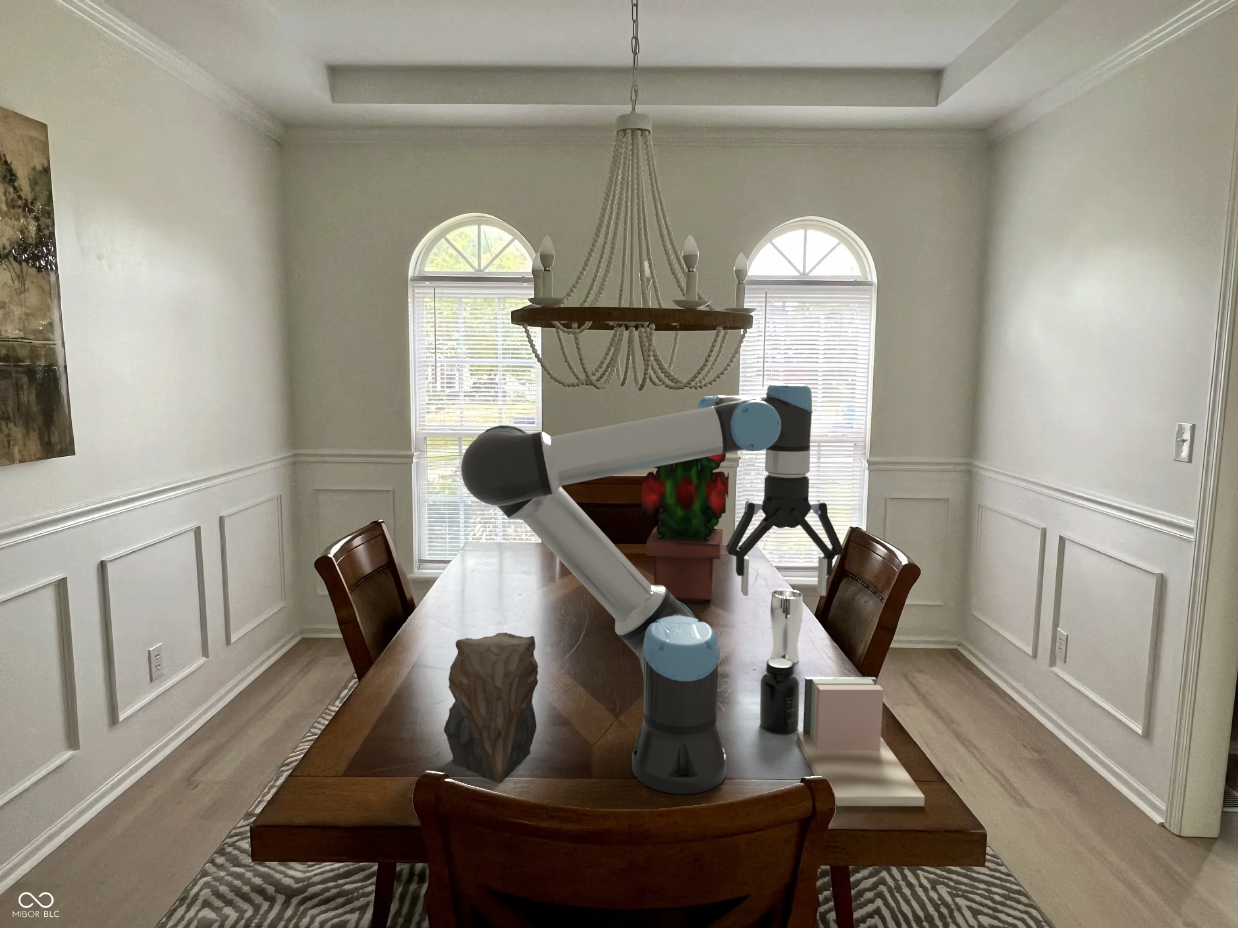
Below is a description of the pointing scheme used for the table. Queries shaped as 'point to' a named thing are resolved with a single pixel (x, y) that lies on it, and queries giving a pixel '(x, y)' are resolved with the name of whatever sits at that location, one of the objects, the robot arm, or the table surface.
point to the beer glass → (786, 623)
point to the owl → (492, 704)
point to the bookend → (809, 694)
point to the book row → (846, 714)
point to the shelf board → (862, 775)
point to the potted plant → (686, 525)
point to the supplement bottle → (779, 697)
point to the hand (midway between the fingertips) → (783, 593)
